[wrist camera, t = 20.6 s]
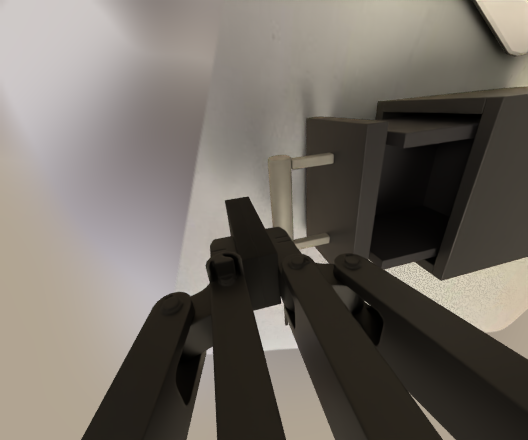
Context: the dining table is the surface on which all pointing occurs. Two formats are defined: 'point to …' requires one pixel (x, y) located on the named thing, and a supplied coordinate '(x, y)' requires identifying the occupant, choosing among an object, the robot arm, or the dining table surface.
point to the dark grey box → (481, 180)
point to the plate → (507, 23)
